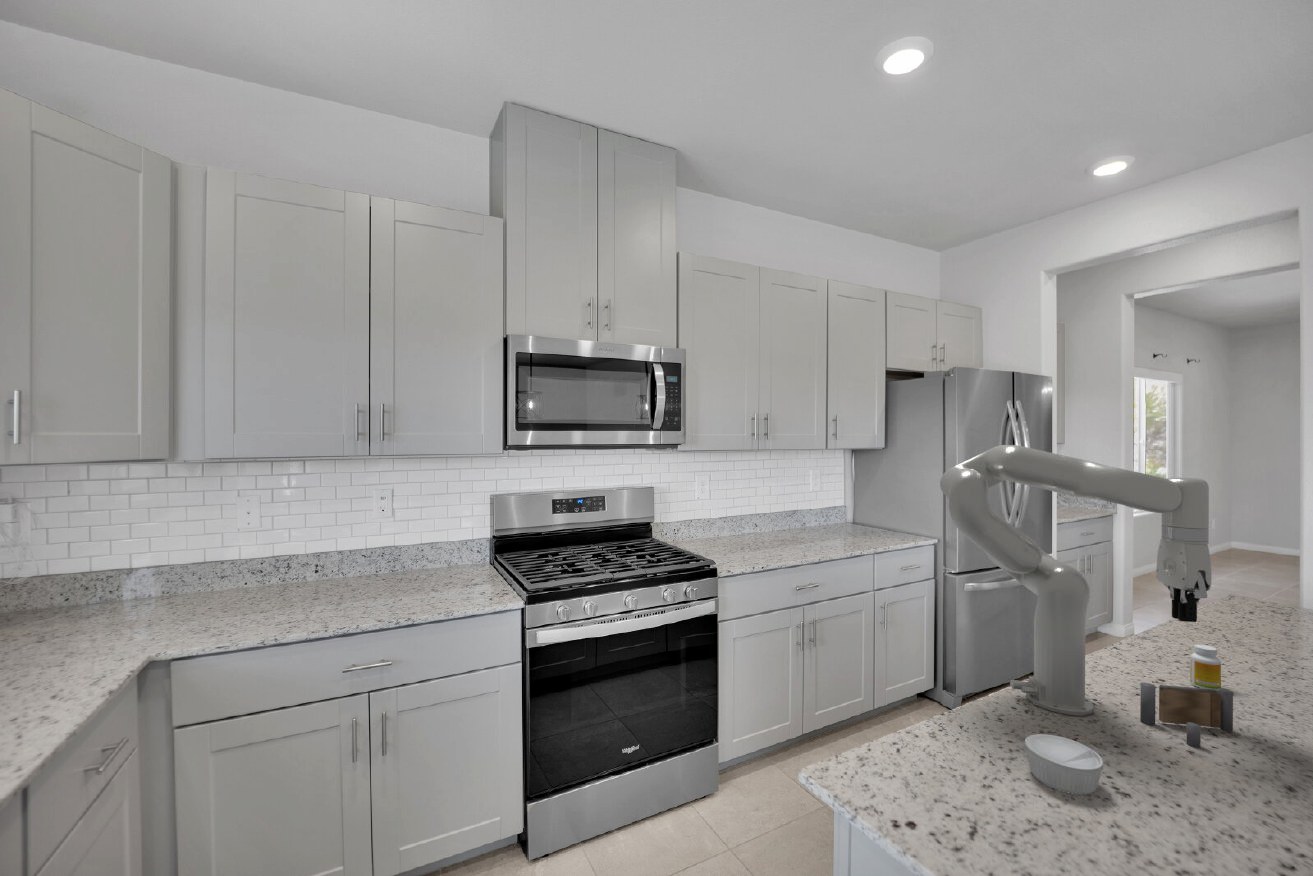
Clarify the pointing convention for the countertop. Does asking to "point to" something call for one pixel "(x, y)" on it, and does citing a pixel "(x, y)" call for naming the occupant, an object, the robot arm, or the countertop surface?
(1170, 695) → the gate
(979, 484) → the robot arm
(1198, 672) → the supplement bottle
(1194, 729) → the gate frame
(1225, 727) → the post
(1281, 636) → the countertop surface
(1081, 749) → the ramekin
